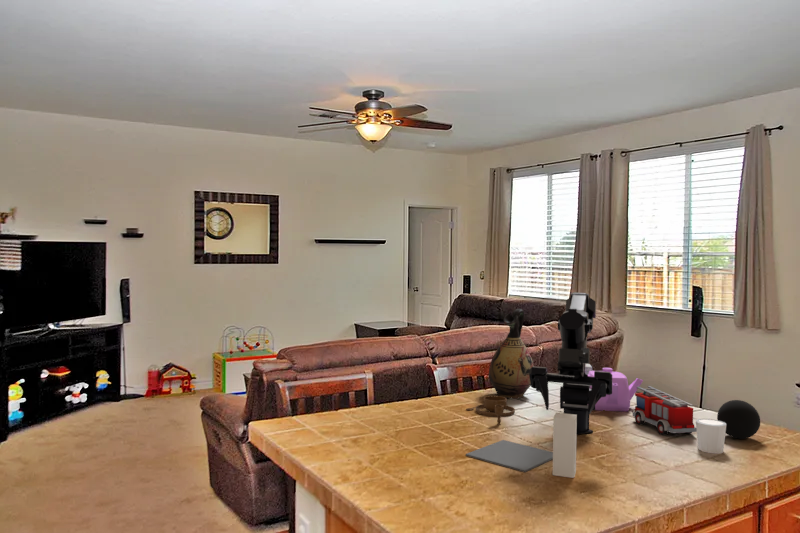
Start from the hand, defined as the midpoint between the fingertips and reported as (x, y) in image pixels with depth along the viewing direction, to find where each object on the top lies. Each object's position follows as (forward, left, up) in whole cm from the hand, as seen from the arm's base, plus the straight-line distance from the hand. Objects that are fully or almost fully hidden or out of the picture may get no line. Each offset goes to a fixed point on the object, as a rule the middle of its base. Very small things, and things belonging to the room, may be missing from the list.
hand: (567, 410), depth 137 cm
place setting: (-7, -45, -13) cm, 47 cm away
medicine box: (-60, -67, -12) cm, 90 cm away
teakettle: (-49, -42, -12) cm, 65 cm away
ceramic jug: (-28, -66, -12) cm, 72 cm away
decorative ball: (-57, -2, -12) cm, 58 cm away
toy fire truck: (-45, -16, -13) cm, 49 cm away
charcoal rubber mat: (+8, -10, -12) cm, 18 cm away
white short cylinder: (-41, +3, -12) cm, 43 cm away
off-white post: (+4, +4, -12) cm, 14 cm away
